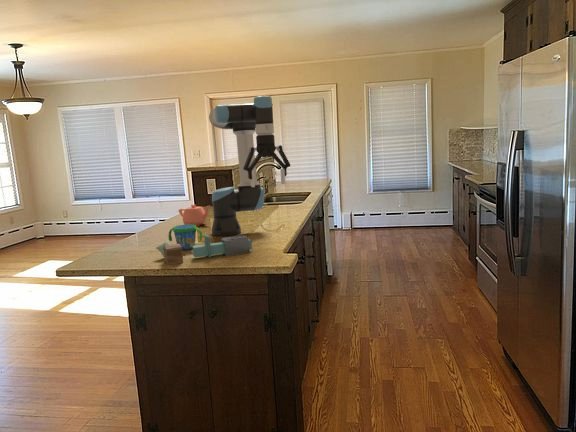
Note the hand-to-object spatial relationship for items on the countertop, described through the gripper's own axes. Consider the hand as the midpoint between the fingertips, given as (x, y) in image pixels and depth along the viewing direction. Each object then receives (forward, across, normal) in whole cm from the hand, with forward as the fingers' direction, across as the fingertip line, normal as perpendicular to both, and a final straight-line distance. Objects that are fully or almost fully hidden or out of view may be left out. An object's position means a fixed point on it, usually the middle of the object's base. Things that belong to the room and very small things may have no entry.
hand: (268, 185), depth 195 cm
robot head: (+28, -43, +11) cm, 52 cm away
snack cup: (+28, -33, +24) cm, 49 cm away
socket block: (+27, -42, +2) cm, 50 cm away
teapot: (+28, -17, +83) cm, 89 cm away
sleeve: (+27, -16, +1) cm, 32 cm away
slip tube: (+27, -22, +2) cm, 35 cm away
